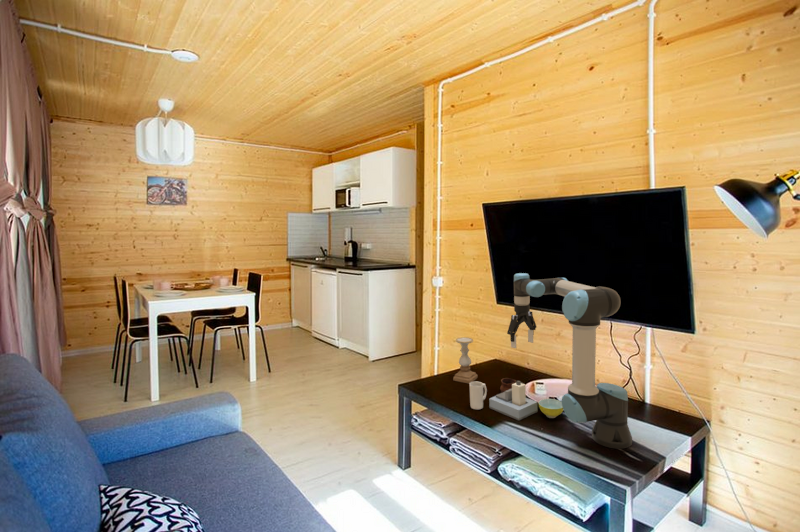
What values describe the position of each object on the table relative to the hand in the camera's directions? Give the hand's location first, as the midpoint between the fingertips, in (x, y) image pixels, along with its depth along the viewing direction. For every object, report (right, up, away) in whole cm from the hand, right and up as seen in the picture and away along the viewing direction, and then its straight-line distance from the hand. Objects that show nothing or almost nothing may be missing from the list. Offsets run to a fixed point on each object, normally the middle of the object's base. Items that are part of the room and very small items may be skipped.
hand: (522, 344), depth 224 cm
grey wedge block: (-10, -25, -6) cm, 27 cm away
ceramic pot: (-4, -28, +13) cm, 31 cm away
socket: (-7, -30, -9) cm, 32 cm away
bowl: (+9, -31, -17) cm, 36 cm away
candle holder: (-24, -26, +34) cm, 49 cm away
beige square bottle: (-5, -30, -12) cm, 32 cm away
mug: (-23, -31, -3) cm, 38 cm away
